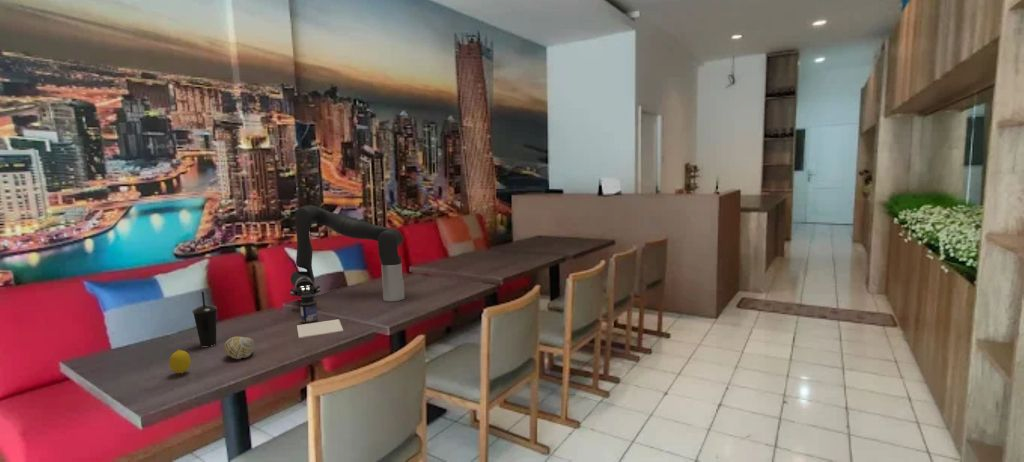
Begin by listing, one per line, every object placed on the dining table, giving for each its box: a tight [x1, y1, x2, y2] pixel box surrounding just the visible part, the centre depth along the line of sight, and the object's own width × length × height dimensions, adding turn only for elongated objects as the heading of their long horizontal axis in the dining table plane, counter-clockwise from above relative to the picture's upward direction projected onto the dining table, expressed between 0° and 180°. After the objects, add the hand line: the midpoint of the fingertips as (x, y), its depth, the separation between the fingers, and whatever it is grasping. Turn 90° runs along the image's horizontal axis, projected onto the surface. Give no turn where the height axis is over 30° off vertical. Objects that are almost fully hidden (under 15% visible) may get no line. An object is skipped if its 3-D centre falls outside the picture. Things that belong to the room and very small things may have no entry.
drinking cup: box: [191, 291, 218, 347], centre depth 183 cm, size 8×8×20 cm
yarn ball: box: [223, 335, 255, 360], centre depth 173 cm, size 10×10×10 cm
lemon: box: [169, 349, 192, 374], centre depth 159 cm, size 6×6×8 cm
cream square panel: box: [296, 318, 344, 339], centre depth 199 cm, size 16×15×1 cm
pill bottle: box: [299, 294, 319, 324], centre depth 208 cm, size 6×6×11 cm
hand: (306, 295), depth 215 cm, fingers closed
